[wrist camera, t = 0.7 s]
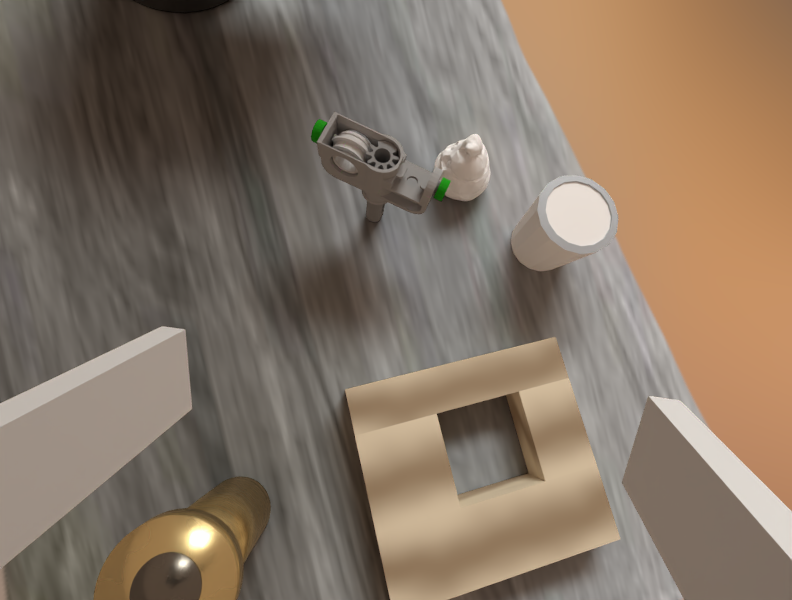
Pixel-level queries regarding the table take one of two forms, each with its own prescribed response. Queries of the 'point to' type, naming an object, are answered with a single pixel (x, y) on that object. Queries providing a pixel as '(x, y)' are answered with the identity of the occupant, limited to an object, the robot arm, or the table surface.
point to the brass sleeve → (189, 548)
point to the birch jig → (488, 506)
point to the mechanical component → (375, 167)
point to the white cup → (565, 224)
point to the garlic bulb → (465, 168)
